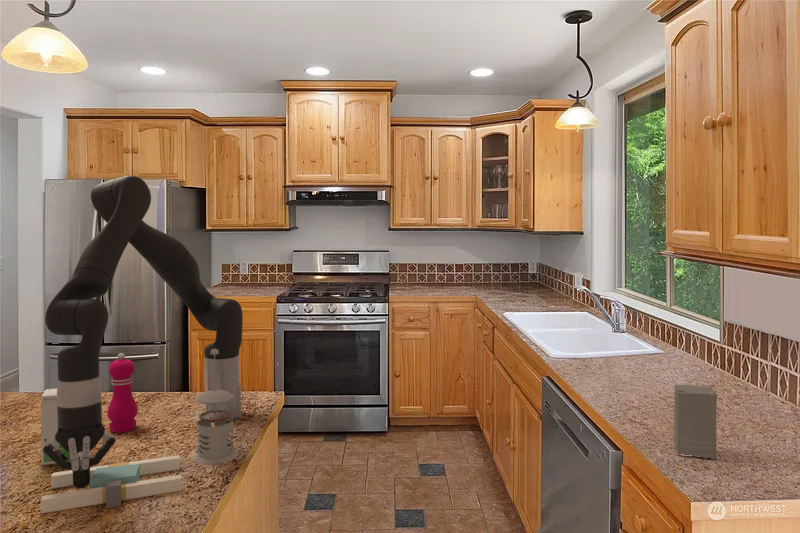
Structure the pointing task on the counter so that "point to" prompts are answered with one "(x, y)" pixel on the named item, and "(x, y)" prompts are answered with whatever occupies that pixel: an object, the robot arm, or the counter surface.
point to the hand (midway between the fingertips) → (81, 486)
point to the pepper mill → (122, 396)
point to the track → (114, 486)
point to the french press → (215, 428)
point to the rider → (115, 475)
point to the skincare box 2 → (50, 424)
